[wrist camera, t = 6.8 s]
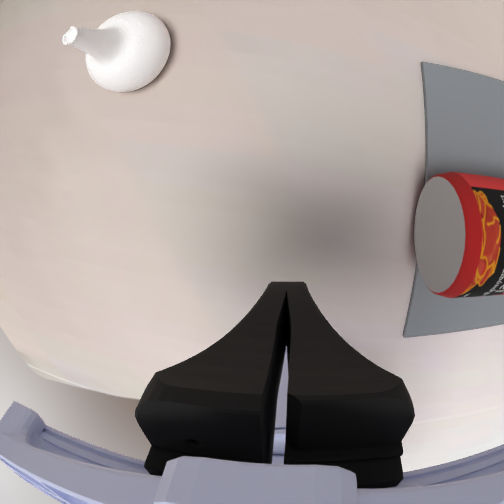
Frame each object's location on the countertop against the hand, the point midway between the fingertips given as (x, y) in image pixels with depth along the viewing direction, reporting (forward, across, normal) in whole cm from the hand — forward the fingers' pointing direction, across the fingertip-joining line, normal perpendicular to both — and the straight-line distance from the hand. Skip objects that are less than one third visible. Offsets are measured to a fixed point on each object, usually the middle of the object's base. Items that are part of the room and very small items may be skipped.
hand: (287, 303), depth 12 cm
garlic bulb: (+11, +10, -13) cm, 20 cm away
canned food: (+6, -9, 0) cm, 11 cm away
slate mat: (+10, -18, -1) cm, 21 cm away
